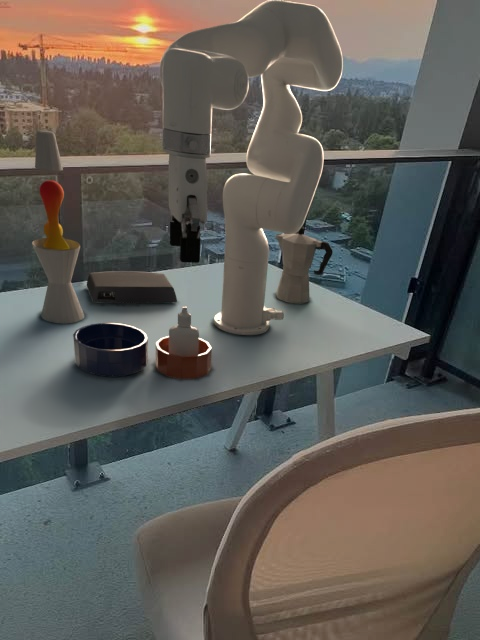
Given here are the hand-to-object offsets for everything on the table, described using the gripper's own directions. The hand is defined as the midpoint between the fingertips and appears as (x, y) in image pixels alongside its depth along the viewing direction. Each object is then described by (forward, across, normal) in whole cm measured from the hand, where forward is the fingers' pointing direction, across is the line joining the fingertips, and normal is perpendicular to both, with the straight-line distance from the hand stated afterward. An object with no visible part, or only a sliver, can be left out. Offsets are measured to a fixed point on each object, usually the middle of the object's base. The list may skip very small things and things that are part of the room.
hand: (184, 253), depth 108 cm
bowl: (+22, +3, +13) cm, 25 cm away
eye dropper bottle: (+22, 0, 0) cm, 22 cm away
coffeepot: (+21, +39, -38) cm, 59 cm away
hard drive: (+22, +40, +4) cm, 46 cm away
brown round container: (+22, 0, 0) cm, 22 cm away
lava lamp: (+22, +27, +20) cm, 40 cm away
